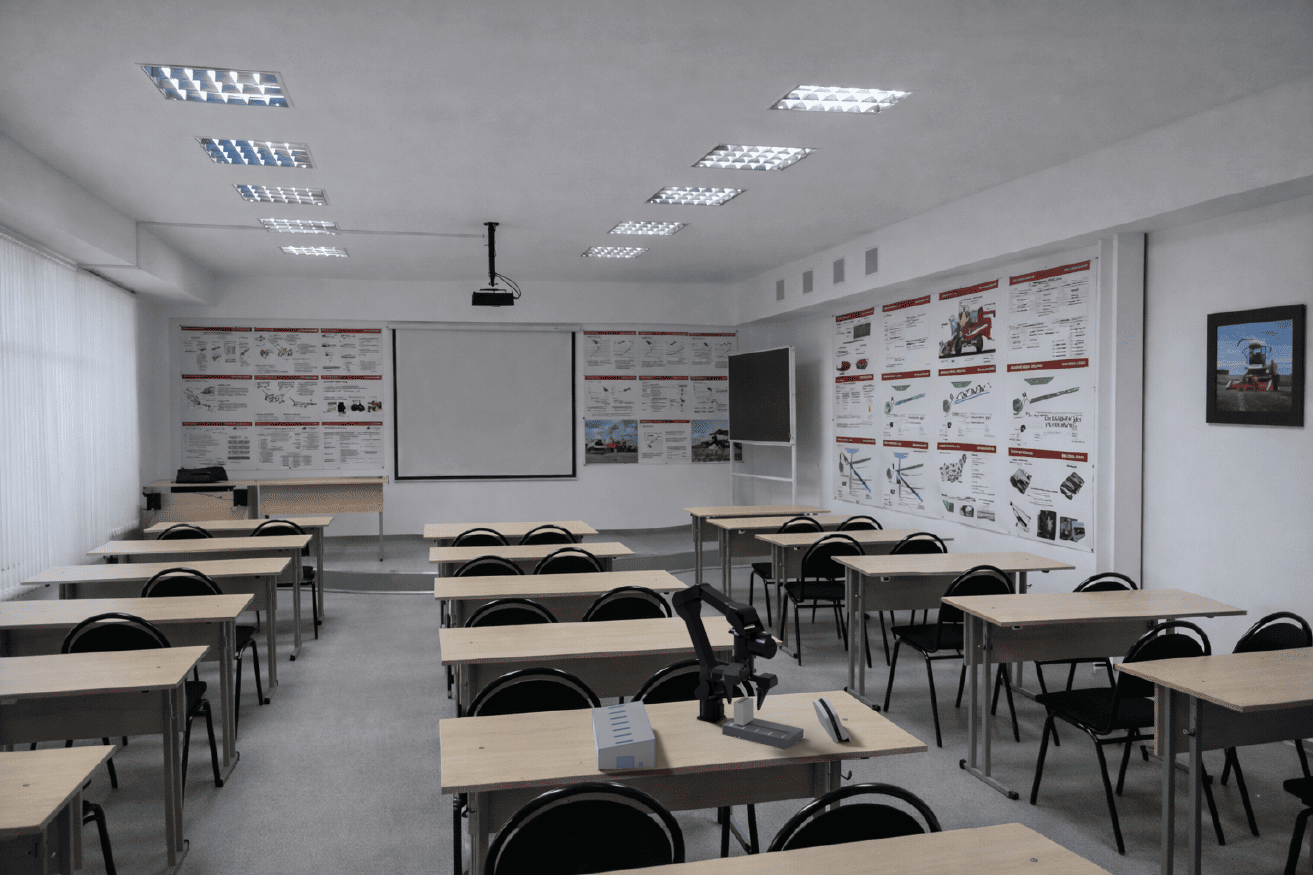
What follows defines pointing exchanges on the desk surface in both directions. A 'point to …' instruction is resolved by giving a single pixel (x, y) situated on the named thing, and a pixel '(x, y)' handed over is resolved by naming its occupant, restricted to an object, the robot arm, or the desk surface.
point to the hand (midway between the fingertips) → (744, 706)
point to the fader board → (765, 732)
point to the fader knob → (743, 711)
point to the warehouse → (623, 737)
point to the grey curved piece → (830, 719)
